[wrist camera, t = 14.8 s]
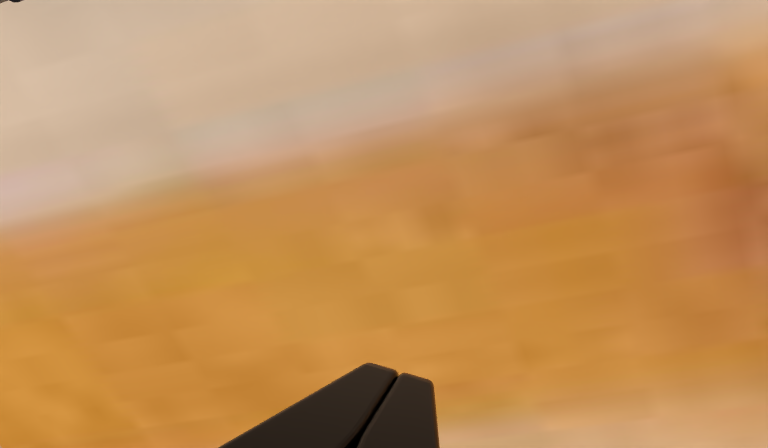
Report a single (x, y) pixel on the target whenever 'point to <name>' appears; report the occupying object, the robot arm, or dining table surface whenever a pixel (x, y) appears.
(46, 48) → the dining table surface
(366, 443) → the robot arm
